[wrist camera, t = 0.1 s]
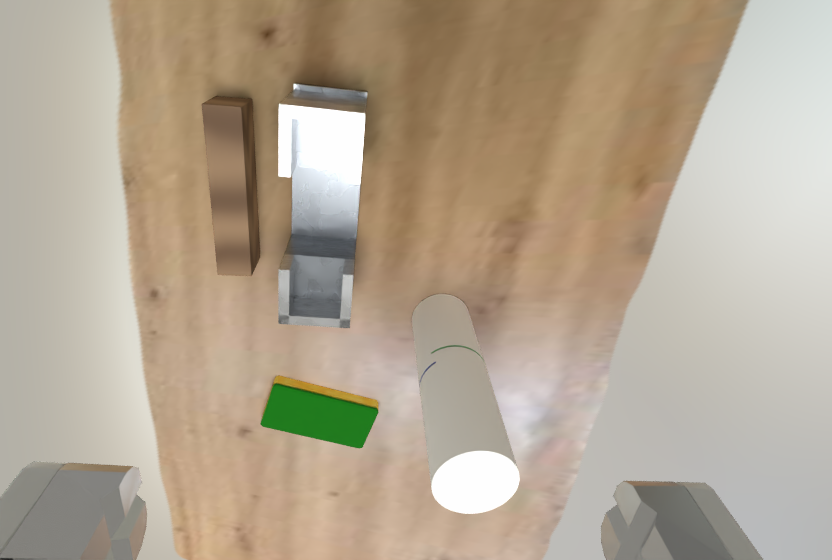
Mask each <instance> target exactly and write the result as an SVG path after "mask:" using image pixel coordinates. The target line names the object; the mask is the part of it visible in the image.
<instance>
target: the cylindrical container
mask: <svg viewBox="0 0 832 560" xmlns="http://www.w3.org/2000/svg"><path fill="white" fill-rule="evenodd" d="M412 328H413V337H414V345H415V354H416V362H417V370H418V379H419V387H420V396H421V404H422V413H423V421H424V429H425V438H426V446H427V455H428V463H429V471H430V480H431V488H432V493H433V495H434V497H435V499H436V500H437V501H438V503H439V504H440V505H442V506H443V507H445V508H447V509H449V510H451V511H454V512H458V513H465V514H474V513H481V512H486V511H489V510H492V509H495V508H497V507H499V506H501V505H502V504H504V503H505V502H506V501H508V500H509V499H510V498H511V497H512V496H513V494H514V493H515V492H516V490H517V487H518V485H519V480H520V478H519V471H518V468H517V465H516V462H515V458H514V455H513V452H512V449H511V445H510V442H509V439H508V436H507V433H506V429H505V426H504V423H503V420H502V417H501V413H500V410H499V407H498V404H497V401H496V397H495V394H494V391H493V388H492V385H491V381H490V378H489V375H488V372H487V368H486V365H485V362H484V359H483V356H482V352H481V349H480V346H479V343H478V340H477V336H476V333H475V330H474V327H473V324H472V320H471V317H470V314H469V311H468V308H467V306H466V305H465V304H464V302H462V301H461V300H460V299H459V298H457V297H455V296H452V295H448V294H437V295H433V296H430V297H427V298H426V299H424V300H423V301H421V302H420V303H419V304H418V305H417V307H416V308H415V310H414V312H413V315H412Z"/></svg>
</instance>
